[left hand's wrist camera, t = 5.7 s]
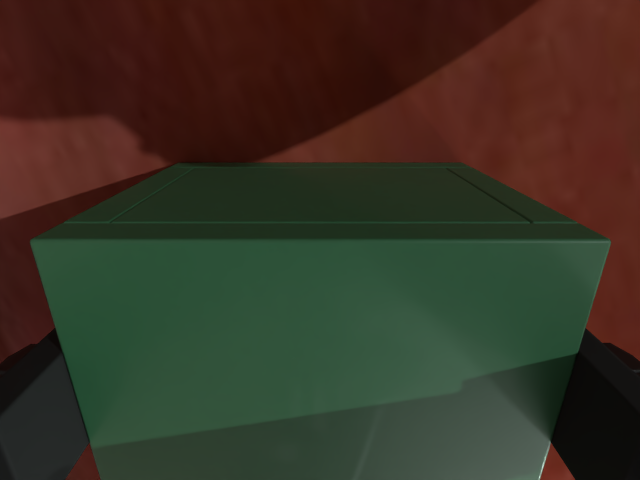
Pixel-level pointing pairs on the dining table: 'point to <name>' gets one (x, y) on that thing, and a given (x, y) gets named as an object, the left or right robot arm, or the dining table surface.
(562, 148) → the dining table surface
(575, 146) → the dining table surface
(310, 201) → the green rectangular box
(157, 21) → the dining table surface
